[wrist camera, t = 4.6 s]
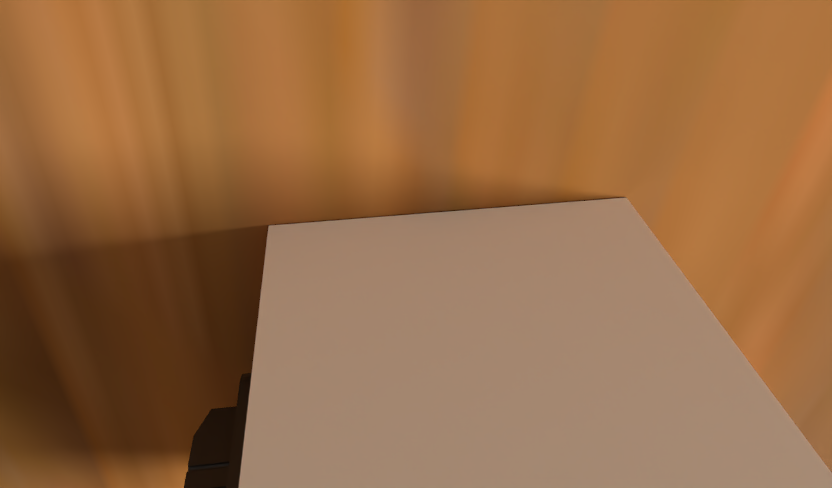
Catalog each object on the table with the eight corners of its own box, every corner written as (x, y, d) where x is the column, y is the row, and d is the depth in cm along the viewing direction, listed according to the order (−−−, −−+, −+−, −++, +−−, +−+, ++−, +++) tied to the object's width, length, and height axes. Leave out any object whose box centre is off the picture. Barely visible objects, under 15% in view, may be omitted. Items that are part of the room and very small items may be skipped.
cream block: (268, 225, 10) (223, 614, 5) (626, 197, 11) (873, 529, 6) (309, 455, 14) (305, 815, 9) (578, 425, 14) (709, 750, 10)
